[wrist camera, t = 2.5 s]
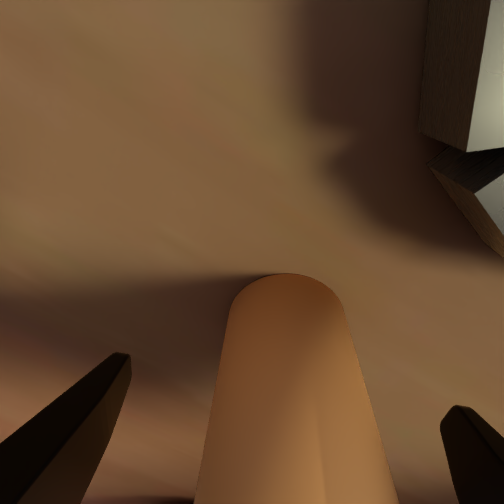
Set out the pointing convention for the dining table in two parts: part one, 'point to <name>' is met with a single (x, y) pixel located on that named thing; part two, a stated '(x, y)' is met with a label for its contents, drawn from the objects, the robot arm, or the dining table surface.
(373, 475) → the rod
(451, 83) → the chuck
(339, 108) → the dining table surface
